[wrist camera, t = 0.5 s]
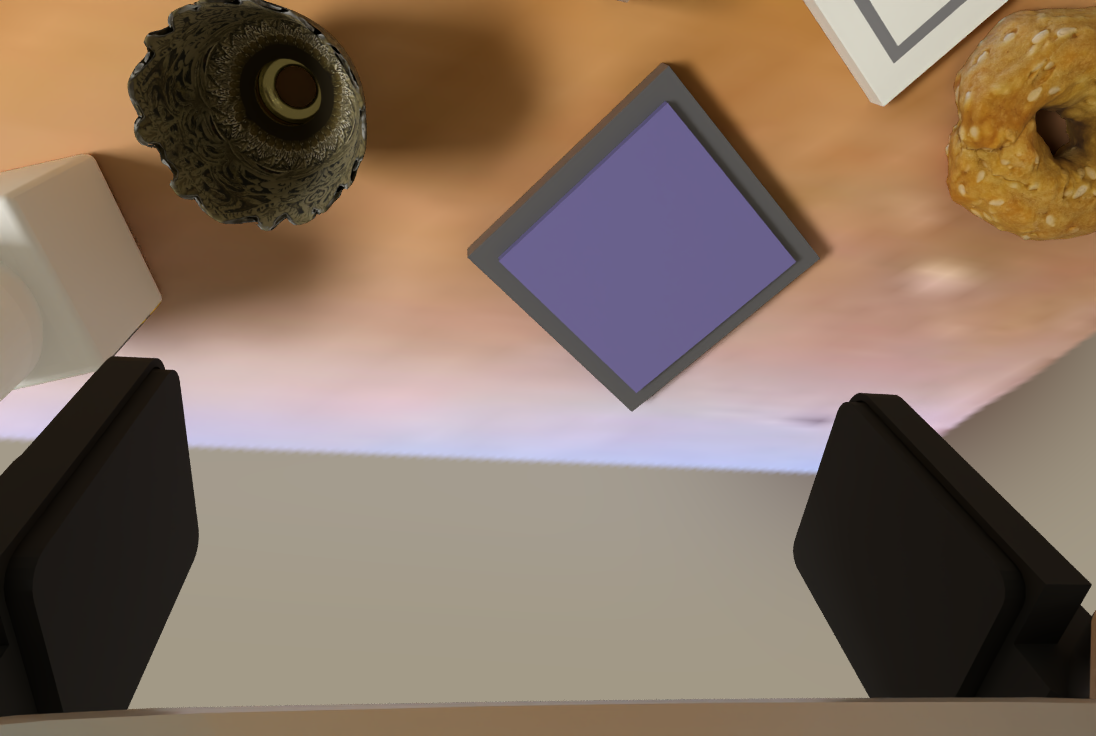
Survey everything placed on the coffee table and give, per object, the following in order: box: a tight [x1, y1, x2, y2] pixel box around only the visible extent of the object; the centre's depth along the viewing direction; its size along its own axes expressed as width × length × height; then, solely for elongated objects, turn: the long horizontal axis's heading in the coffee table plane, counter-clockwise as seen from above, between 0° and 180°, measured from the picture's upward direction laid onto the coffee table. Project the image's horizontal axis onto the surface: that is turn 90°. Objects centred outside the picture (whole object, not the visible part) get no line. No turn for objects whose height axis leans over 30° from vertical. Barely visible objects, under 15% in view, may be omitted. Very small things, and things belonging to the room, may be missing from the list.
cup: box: [128, 0, 367, 231], centre depth 28 cm, size 8×7×8 cm
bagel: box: [945, 6, 1096, 241], centre depth 34 cm, size 10×11×5 cm
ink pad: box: [467, 63, 820, 411], centre depth 36 cm, size 12×12×2 cm
